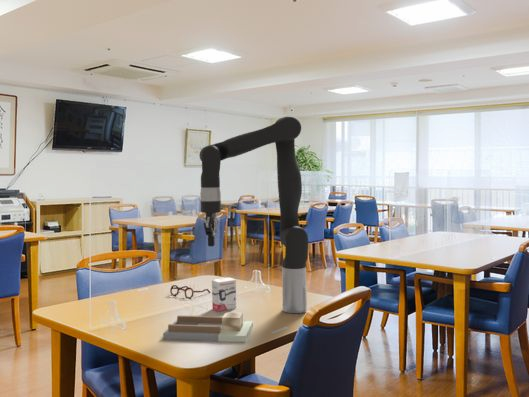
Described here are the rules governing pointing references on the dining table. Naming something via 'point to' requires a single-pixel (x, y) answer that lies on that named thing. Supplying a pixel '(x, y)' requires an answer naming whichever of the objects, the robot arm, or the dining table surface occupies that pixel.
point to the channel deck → (205, 329)
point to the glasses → (185, 290)
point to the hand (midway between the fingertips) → (211, 245)
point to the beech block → (232, 321)
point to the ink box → (223, 294)
